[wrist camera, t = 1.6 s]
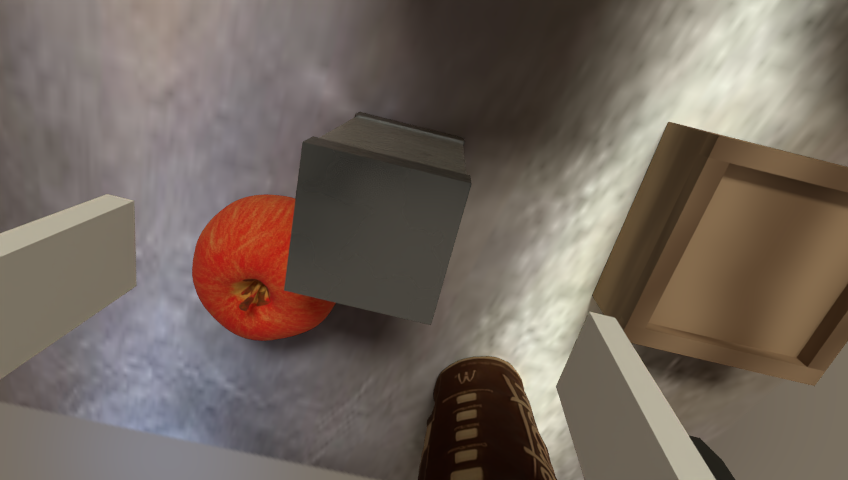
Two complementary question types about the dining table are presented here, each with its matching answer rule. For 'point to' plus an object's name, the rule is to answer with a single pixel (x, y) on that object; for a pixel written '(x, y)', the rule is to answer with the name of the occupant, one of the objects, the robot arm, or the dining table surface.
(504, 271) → the dining table surface
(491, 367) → the coffee cup
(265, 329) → the apple
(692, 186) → the walnut stand
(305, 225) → the block
